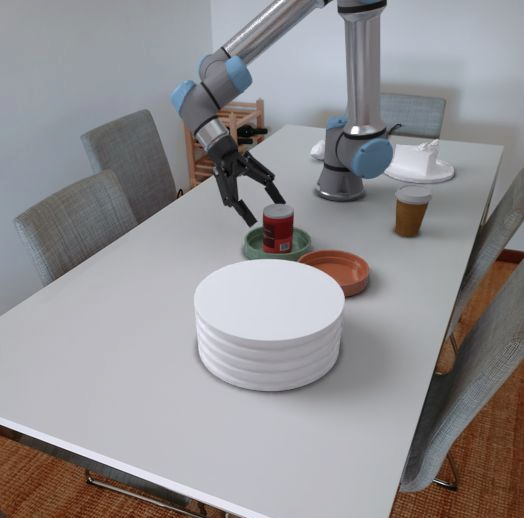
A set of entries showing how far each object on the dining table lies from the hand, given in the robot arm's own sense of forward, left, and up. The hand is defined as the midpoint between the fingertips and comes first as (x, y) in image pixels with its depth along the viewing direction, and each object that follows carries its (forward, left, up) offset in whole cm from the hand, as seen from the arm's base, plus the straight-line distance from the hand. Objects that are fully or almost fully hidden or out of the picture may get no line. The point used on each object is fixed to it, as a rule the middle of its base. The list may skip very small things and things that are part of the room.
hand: (268, 215), depth 128 cm
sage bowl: (-1, +3, -9) cm, 10 cm away
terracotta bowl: (+1, +22, -9) cm, 24 cm away
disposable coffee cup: (-34, +22, -9) cm, 41 cm away
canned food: (-1, +3, -9) cm, 10 cm away
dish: (-81, -1, -9) cm, 81 cm away
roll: (-72, -36, -6) cm, 81 cm away
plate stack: (+30, +28, -9) cm, 42 cm away
